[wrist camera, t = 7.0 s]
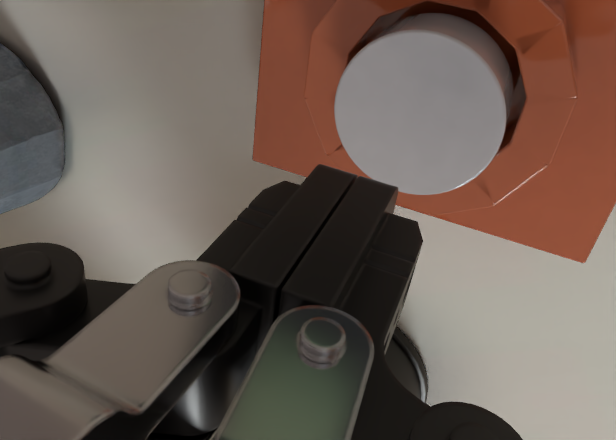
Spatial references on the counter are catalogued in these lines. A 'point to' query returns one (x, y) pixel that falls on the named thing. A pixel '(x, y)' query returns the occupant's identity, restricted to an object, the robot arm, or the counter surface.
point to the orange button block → (520, 127)
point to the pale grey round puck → (425, 104)
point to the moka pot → (26, 136)
